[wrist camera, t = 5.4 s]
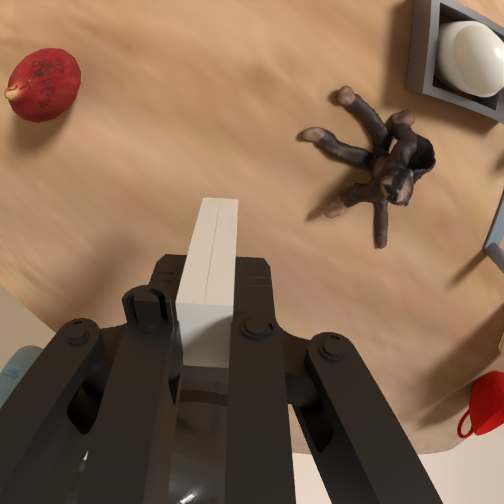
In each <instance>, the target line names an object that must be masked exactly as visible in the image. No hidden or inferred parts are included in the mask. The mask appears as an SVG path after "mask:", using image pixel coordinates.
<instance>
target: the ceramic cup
mask: <svg viewBox="0 0 504 504" xmlns="http://www.w3.org/2000/svg"><path fill="white" fill-rule="evenodd" d="M469 414H470V419H471V424H472V425H471V429H470V431H469V432H468V434H466V435H462V433H461V427H462V424H463V422H464V420H465V418H466V417H467V416H468V415H469ZM503 423H504V373H503V372H498V371H491V372H489V373H487V374H486V375H484V376H483V377H481V378H480V379H479V380H478V381H477V382H476V383H475V384H474V385H473V387H472V392H471V395H470V400H469V409H468V410H467V412H466V413H465V414H464V415H463V417H462V418H461V420H460V422H459V424H458V428H457V433H458V436H459V437H460V438H467V437H469V436H470V435H471V434H472V433H473V432H474V433H475V434H476V435H482V434H485V433H487V432H490V431H492V430H493V429H495V428H497V427H498V426H500V425H502V424H503Z"/></svg>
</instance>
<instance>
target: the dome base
mask: <svg viewBox="0 0 504 504" xmlns="http://www.w3.org/2000/svg"><path fill="white" fill-rule="evenodd" d="M439 13H440V14H442V15H445V16H447V17H449V18H451V19H454V20H456V21H458V22H460V21H476V22H480V23H482V24H484V25H485V26H487V27H488V28H489V29H491V30H492V31H493V32H494V33H495V34H496V35H497V36H498V37H499V38H500V39H501V40H502V42H503V43H504V28H503V27H501V26H500V25H498V24H496V23H495V22H493V21H491V20H490V19H488V18H486V17H485V16H483V15H481V14H479V13H477V12H476V11H474V10H472V9H470V8H468V7H466V6H464V5H462V4H460V3H458V2H456V1H454V0H414V1H413V18H412V32H411V43H410V52H409V61H408V70H407V77H406V85H405V89H407V90H411V91H414V92H418V93H421V94H425V95H428V96H431V97H434V98H437V99H440V100H443V101H446V102H449V103H452V104H455V105H458V106H461V107H463V108H466V109H469V110H471V111H474V112H477V113H479V114H482V115H484V116H486V117H489V118H491V119H494V120H496V121H498V122H501V123H503V124H504V87H503V88H502V89H500V90H499V91H498V92H497V93H496V94H494V95H493V96H490V97H479V96H477V102H474V101H471V100H469V99H466V98H464V97H461V96H459V95H456V94H453V93H451V92H448V91H445V90H442V89H439V88H436V87H433V86H432V84H433V76H434V69H435V60H436V51H437V41H438V28H439Z"/></svg>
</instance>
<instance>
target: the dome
mask: <svg viewBox="0 0 504 504" xmlns="http://www.w3.org/2000/svg"><path fill="white" fill-rule="evenodd" d="M434 74H435V75H436V77H437V78H438V79H439V80H440V81H441V82H442V83H443V84H444V85H445V86H447V87H449V88H451V89H454V90H457V91H461V92H465V93H469V94H472V95H476V96H479V97H490V96H493V95H494V94H496V93H497V92H498V91H499V90H500V89H502V88H503V87H504V43H503V42H502V40H501V39H500V38H499V37H498V36H497V35H496V34H495V33H494V32H493V31H492V30H491V29H489V28H488V27H487V26H485V25H484V24H482V23H480V22H476V21H460V22H445V23H441V24H439V28H438V41H437V51H436V60H435V69H434Z"/></svg>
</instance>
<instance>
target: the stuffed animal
mask: <svg viewBox="0 0 504 504" xmlns="http://www.w3.org/2000/svg"><path fill="white" fill-rule="evenodd" d="M338 101H339V103H341V104H343V105H344V106H345V107H346V108H347V110H349V111H350V112H352V113H353V114H355V115H356V116H357V117H359V118H360V119H361V121H362V122H363V123H364V125H365V126H366V128H367V130H368V132H369V134H370V135H371V137H372V139H373V146H374V148H373V153H370V152H368V151H366V150H365V149H363V148H359V147H355V146H350V145H348V144H345V143H342V142H340V141H339V140H337V138H336V137H335V135H334V134H332V133H331V132H330V131H328V130H325V129H323V128H319V127H311V128H308V129H306V130H304V132H303V133H302V138H303V139H305V140H309V141H314V142H315V143H316V144H317V145H318V146H319V147H320V148H321V149H323V150H324V151H325V152H326V153H327V154H328V155H331V156H334V157H337V158H340V159H342V160H344V161H345V162H347V163H350V164H351V165H354V166H357V167H359V168H362V169H364V170H367V171H369V172H370V173H371V175H372V180H371V181H369V182H368V183H367V184H366V183H365V184H364V183H362V184H361V183H355V184H354V186H352V187H349V188H347V189H344V190H343V191H341V192H340V193H339V194H338V195H337V196H336V197H335V198H334V199H333V201H332V202H330V203H329V204H328V206H327V207H326V208H324V214H325V216H326V217H329V218H333V217H336V216H339V215H340V214H342V213H343V212H344V211H345V210H346V209H347V208H349V207H351V206H354V205H356V204H357V203H359V202H369V203H371V202H375V201H376V203H375V232H376V243H377V246H378V247H379V248H380V249H382V248H384V247H385V246H386V245H387V227H388V211H387V204H388V201H389V202H390V203H392V204H394V205H399V206H402V205H404V206H407V205H408V204H409V203H410V201H411V200H410V198H411V196H412V193H413V188H414V184H415V183H416V181H417V180H418V179H420V178H421V177H422V175H423V174H425V173H426V172H429V171H431V170H432V168H433V167H434V165H435V163H436V159H435V158H434V156H435V153H434V150H433V145H432V144H431V142H430V141H429V140H428V139H426V138H424V137H422V136H420V135H417V134H415V133H414V132H413V131H412V129H411V127H410V126H411V125H412V124H413V123H414V121H415V117H414V115H413V114H412V113H411V111H409V110H404V111H402V112H400V113H396V114H393V115H392V116H391V124H392V130H390V131H389V130H388V129H387V127H386V126H385V125H384V123H383V122H382V120H381V118H380V117H379V115H378V114H377V113H376V112H375V110H374V109H373V108H371V107H370V106H369V105H368V104H367V103H366V102H365V101H363V99H362V98H361V97H360V96H359V95H358V94H354V93H353V90H352V89H351V88H350V87H349V86H343V87H342V88H341V89H340V90H339V92H338ZM392 136H394V138H395V139H397V140H398V142H397V143H396V144H395V145H394V147H393V149H392V151H391V153H390V154H389V147H390V145H391V137H392Z"/></svg>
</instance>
